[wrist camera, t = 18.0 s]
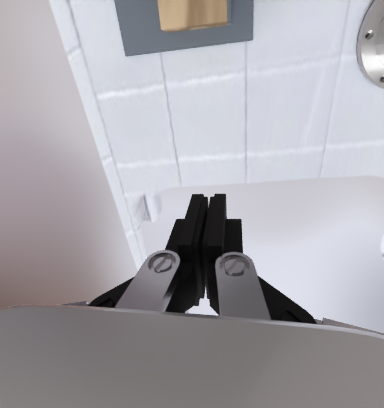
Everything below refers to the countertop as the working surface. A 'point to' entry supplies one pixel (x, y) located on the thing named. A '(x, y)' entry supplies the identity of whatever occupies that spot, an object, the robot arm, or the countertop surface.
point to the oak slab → (193, 14)
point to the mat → (163, 41)
